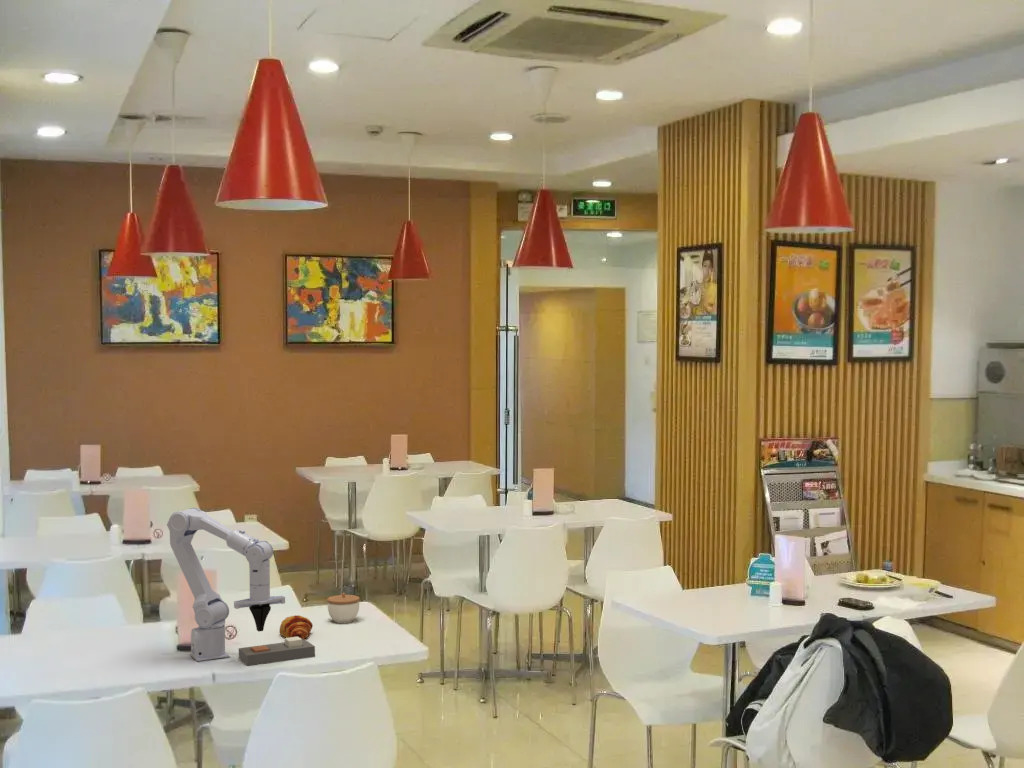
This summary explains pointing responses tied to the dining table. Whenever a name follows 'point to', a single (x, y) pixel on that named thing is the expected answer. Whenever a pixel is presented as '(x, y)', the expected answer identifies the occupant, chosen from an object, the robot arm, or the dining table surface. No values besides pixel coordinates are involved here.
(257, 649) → the terracotta key
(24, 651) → the dining table surface
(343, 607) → the lidded jar
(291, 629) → the croissant
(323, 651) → the dining table surface
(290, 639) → the beige key
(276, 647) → the key block
